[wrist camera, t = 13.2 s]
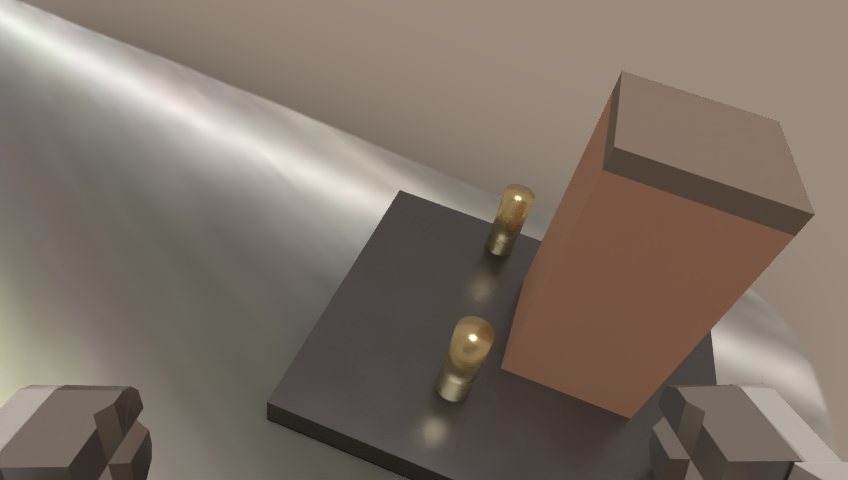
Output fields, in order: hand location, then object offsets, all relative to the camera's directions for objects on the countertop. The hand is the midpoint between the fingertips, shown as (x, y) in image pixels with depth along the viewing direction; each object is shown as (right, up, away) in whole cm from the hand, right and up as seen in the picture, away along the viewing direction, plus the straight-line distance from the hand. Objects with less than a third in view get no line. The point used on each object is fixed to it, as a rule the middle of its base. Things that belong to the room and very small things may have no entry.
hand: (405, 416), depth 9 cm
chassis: (+5, -3, +16) cm, 17 cm away
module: (+7, -2, +16) cm, 17 cm away
